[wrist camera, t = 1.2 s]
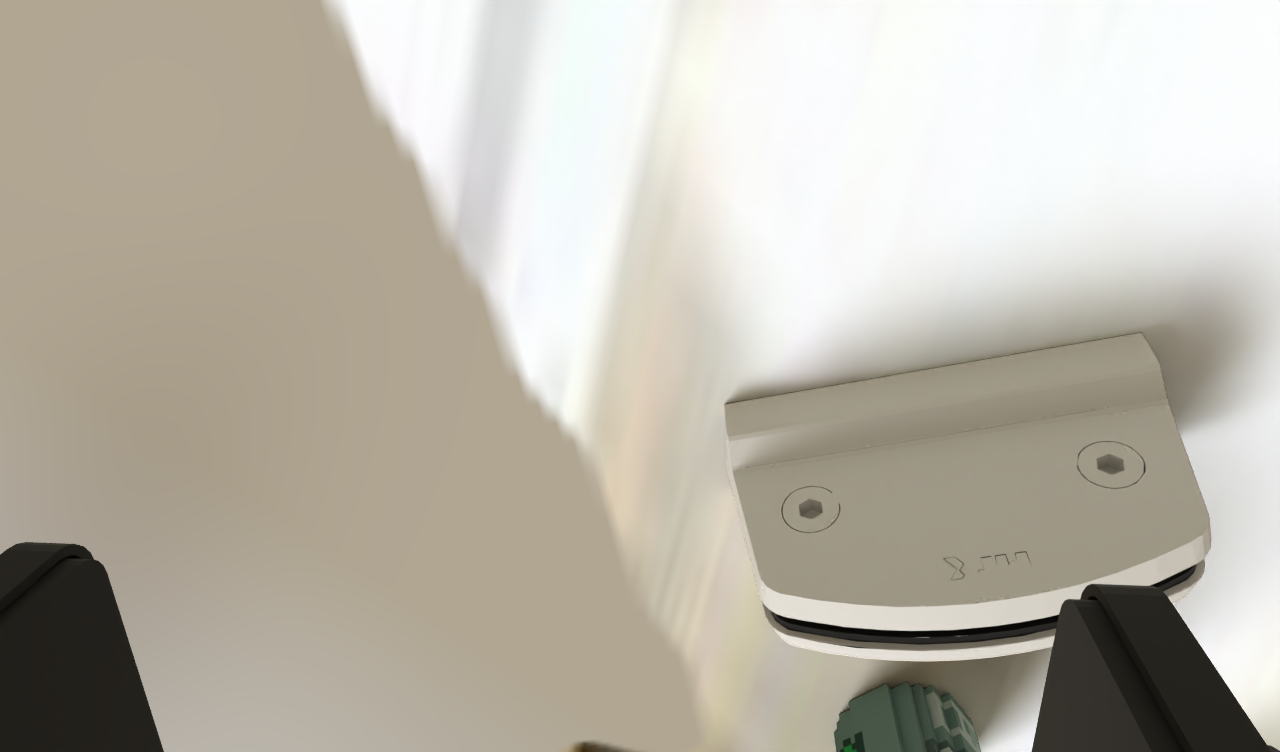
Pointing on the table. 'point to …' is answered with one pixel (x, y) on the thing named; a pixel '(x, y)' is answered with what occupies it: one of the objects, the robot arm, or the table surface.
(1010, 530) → the hinge
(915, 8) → the table surface
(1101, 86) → the table surface
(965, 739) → the can
